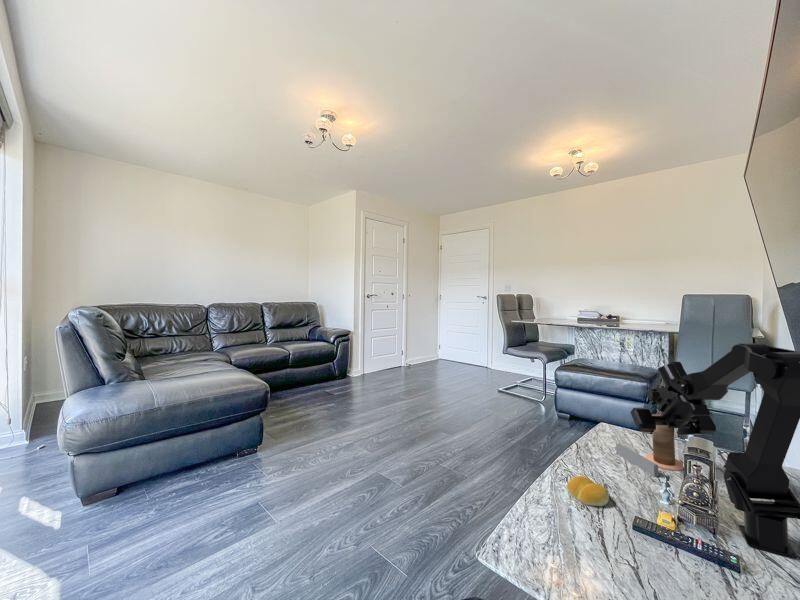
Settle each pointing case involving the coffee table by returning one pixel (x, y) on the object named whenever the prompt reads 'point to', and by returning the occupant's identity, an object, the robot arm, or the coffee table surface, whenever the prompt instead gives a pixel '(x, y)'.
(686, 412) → the robot arm
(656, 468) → the grey acrylic wall
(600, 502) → the bread roll
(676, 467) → the terracotta coaster
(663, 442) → the walnut pin
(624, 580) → the coffee table surface
